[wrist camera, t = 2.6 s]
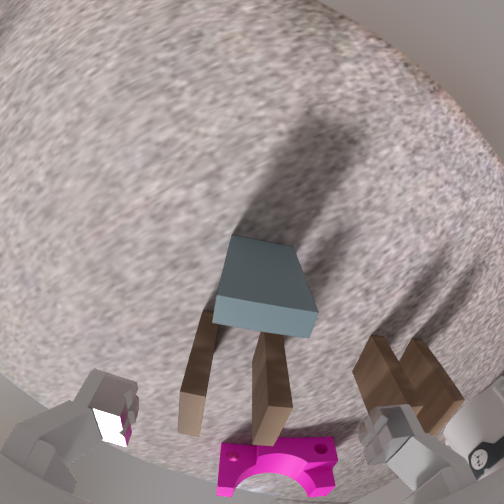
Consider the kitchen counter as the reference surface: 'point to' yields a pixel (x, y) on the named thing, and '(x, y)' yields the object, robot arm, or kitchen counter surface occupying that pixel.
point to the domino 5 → (430, 386)
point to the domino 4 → (383, 377)
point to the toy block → (280, 463)
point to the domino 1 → (197, 377)
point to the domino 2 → (264, 290)
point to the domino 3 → (269, 389)
